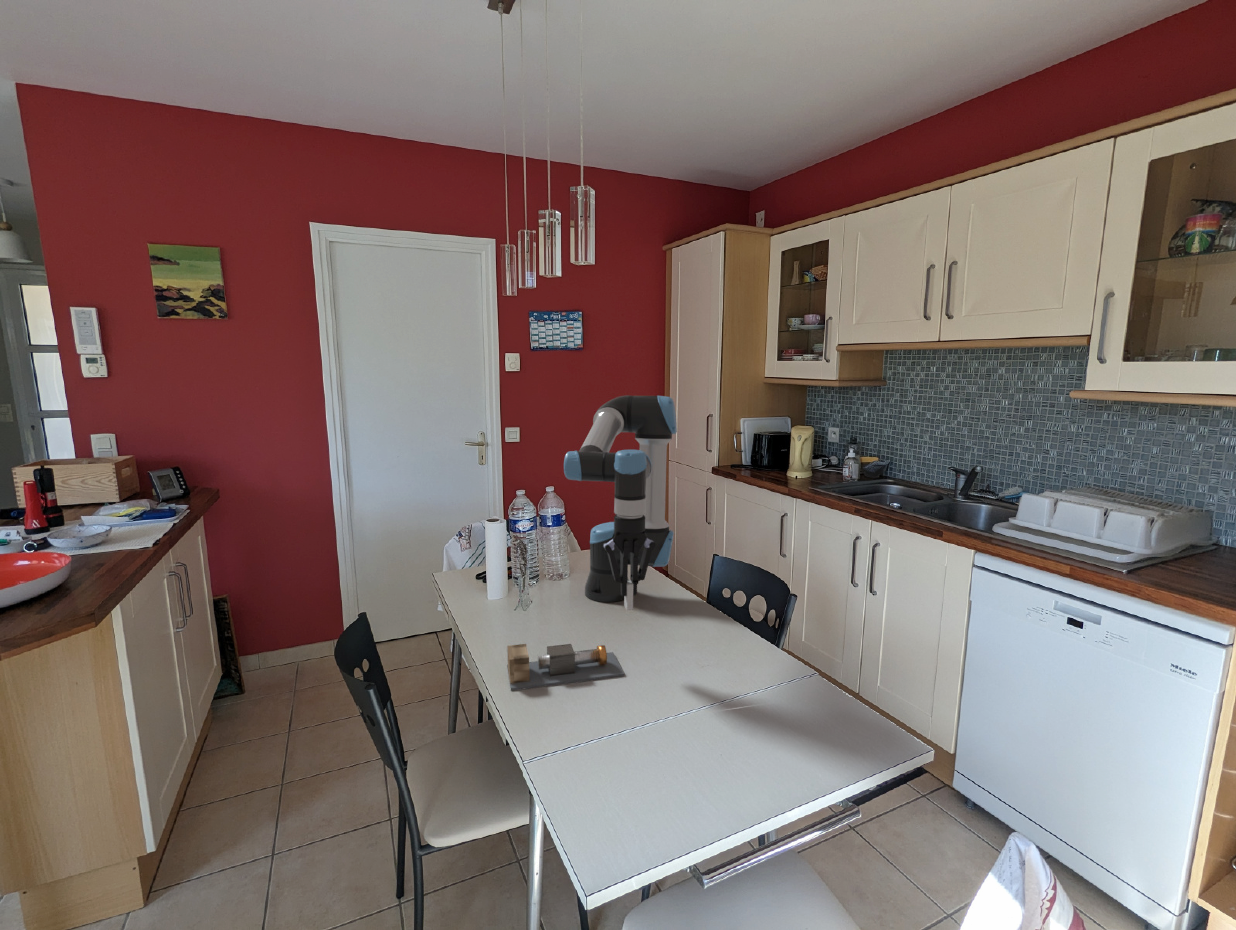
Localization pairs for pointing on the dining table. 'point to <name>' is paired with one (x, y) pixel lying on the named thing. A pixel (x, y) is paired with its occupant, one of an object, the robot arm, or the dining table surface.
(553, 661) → the sleeve
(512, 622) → the dining table surface
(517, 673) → the socket block
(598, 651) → the sliding bolt
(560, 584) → the dining table surface
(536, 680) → the base mat
